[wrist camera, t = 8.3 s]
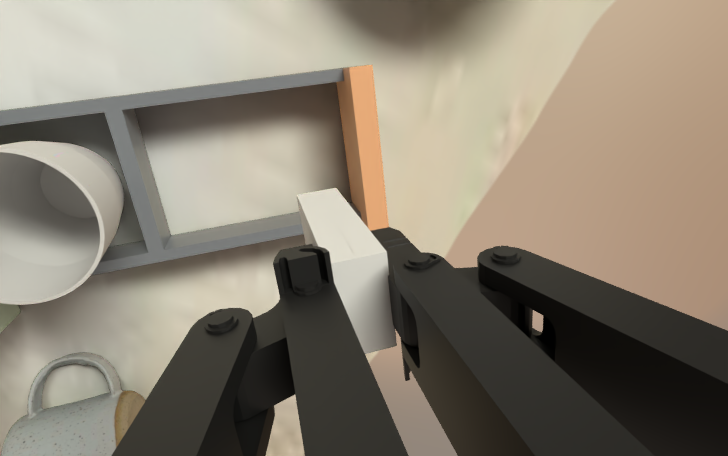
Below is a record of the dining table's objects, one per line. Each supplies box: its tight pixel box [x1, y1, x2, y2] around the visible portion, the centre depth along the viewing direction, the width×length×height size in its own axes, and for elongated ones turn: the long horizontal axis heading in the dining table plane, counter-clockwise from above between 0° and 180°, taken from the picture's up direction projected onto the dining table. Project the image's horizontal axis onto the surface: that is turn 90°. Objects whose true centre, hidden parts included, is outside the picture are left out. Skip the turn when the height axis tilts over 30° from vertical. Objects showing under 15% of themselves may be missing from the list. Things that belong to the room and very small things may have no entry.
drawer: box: [0, 65, 389, 276], centre depth 29 cm, size 11×28×5 cm, turn 97°
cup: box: [0, 141, 124, 305], centre depth 26 cm, size 8×8×10 cm
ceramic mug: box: [1, 353, 145, 456], centre depth 33 cm, size 11×8×8 cm
